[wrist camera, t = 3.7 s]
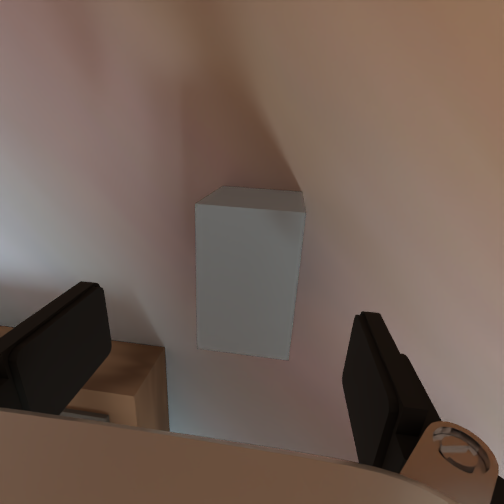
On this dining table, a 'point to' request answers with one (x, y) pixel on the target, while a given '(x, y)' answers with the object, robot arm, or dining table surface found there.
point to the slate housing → (248, 269)
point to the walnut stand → (124, 388)
